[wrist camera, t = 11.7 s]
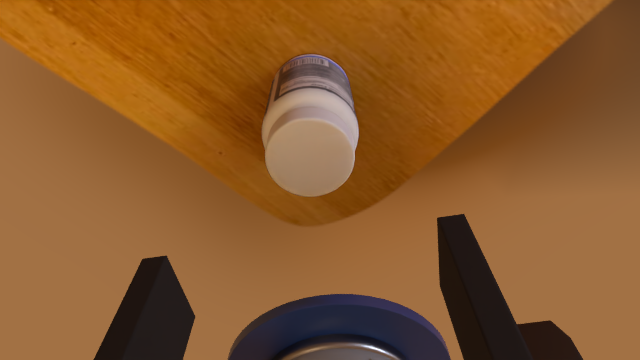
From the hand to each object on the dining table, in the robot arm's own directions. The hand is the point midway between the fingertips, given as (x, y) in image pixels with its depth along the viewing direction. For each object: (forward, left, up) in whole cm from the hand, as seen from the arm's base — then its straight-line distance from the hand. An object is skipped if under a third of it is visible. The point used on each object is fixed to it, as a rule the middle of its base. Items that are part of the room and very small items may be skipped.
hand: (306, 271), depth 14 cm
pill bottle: (0, 0, -15) cm, 15 cm away
